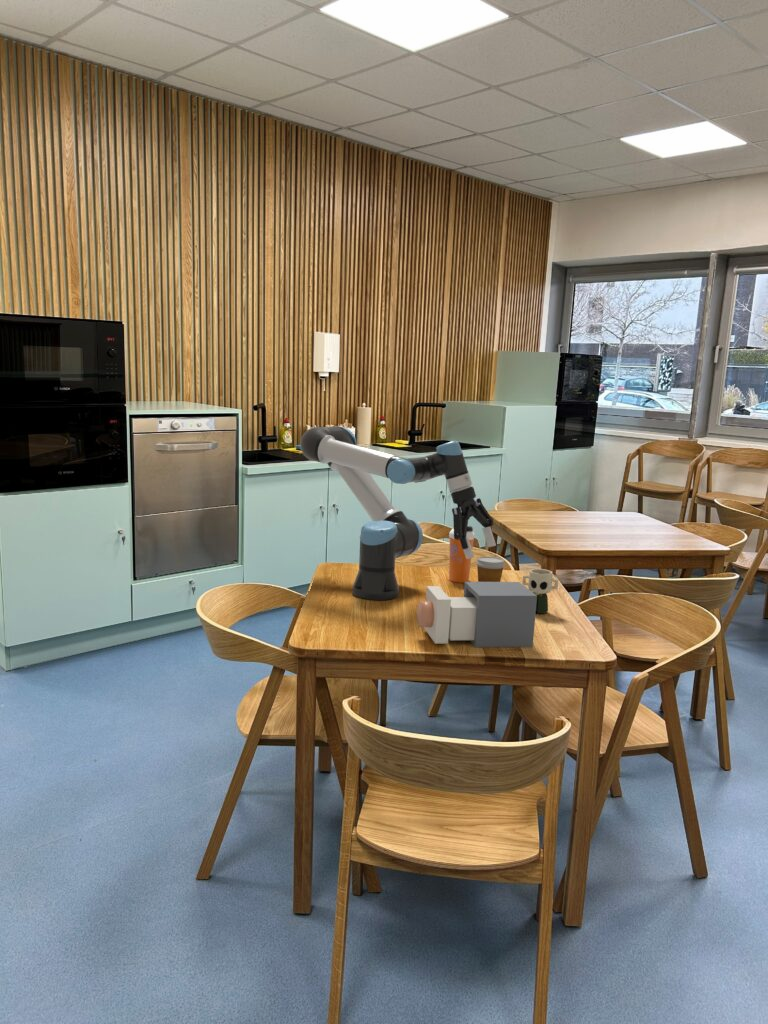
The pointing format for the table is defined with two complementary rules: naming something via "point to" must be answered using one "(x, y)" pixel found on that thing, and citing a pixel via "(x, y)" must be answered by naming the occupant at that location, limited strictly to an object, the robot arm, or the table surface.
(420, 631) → the table surface
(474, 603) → the white drawer
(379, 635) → the table surface
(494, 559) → the disposable coffee cup
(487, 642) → the block
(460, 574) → the shaker bottle
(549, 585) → the character mug
